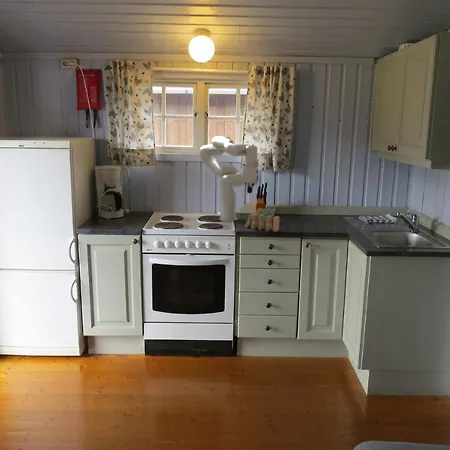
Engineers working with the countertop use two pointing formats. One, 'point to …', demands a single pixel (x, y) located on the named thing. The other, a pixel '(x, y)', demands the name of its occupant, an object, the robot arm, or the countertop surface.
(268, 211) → the food container
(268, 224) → the domino
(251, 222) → the domino
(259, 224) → the domino
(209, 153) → the robot arm
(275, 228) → the domino
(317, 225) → the countertop surface
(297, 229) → the countertop surface
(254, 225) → the domino
